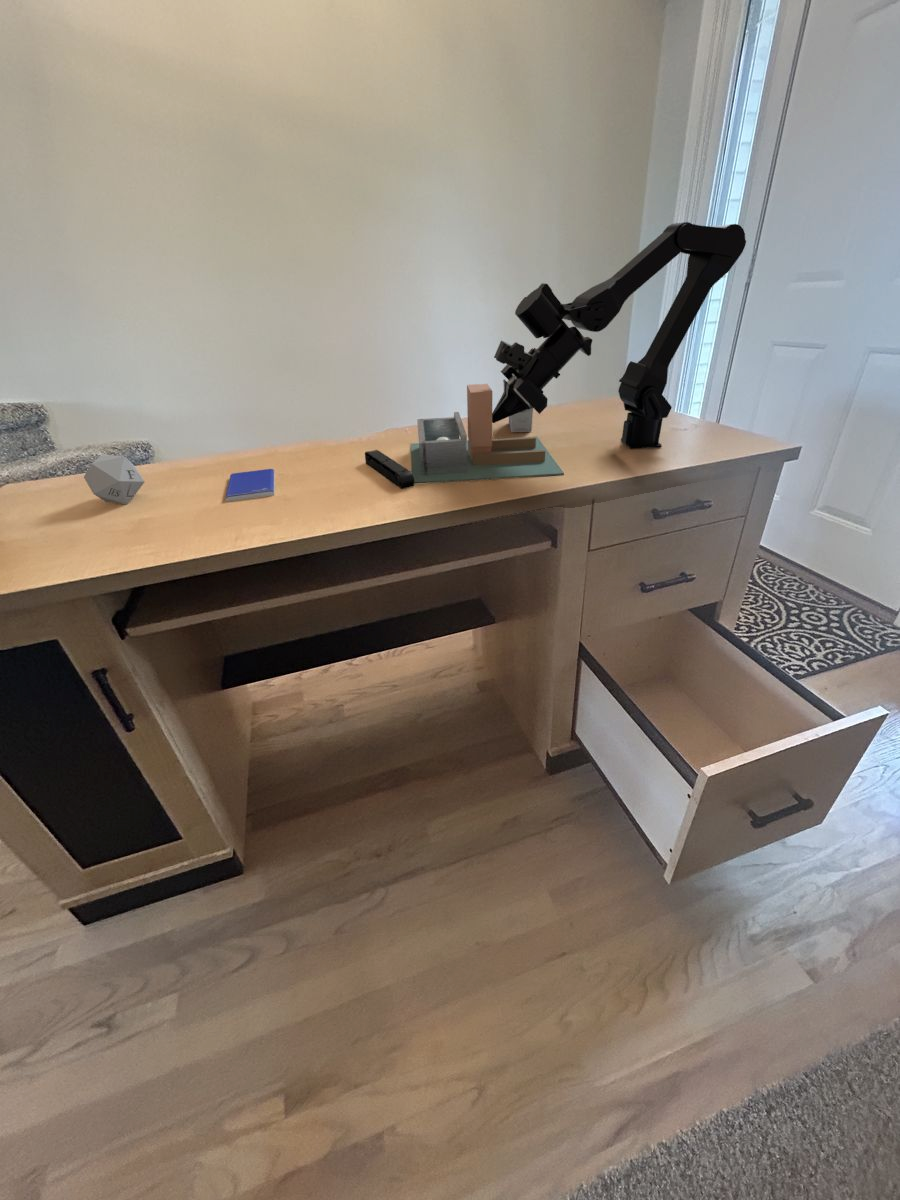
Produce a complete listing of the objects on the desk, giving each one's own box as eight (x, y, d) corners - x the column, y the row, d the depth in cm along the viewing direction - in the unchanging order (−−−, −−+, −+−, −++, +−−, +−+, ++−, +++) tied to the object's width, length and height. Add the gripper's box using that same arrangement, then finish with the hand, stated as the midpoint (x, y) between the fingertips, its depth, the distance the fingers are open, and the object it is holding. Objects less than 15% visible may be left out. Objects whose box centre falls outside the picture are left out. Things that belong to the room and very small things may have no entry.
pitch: (536, 437, 117) (537, 427, 116) (563, 474, 97) (564, 462, 96) (410, 445, 116) (410, 434, 115) (411, 484, 96) (410, 471, 95)
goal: (459, 445, 114) (458, 411, 110) (467, 472, 99) (466, 435, 96) (419, 447, 113) (416, 414, 110) (421, 475, 99) (418, 437, 95)
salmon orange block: (487, 450, 110) (487, 383, 102) (492, 461, 104) (492, 391, 97) (468, 451, 109) (466, 384, 102) (471, 462, 104) (470, 392, 96)
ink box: (508, 423, 129) (509, 371, 122) (529, 422, 128) (531, 370, 122) (511, 433, 121) (512, 378, 115) (533, 432, 121) (535, 377, 115)
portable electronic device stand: (415, 488, 95) (414, 472, 93) (402, 491, 94) (400, 475, 92) (376, 462, 108) (375, 447, 107) (365, 464, 107) (363, 450, 106)
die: (99, 517, 90) (119, 470, 87) (66, 486, 92) (84, 439, 88) (141, 515, 98) (160, 472, 95) (110, 487, 99) (128, 443, 96)
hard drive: (273, 489, 94) (273, 467, 104) (224, 495, 92) (229, 473, 102) (275, 497, 94) (275, 475, 105) (227, 504, 93) (232, 481, 103)
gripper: (513, 318, 102) (457, 382, 107) (532, 328, 86) (466, 402, 92) (550, 360, 106) (495, 419, 112) (575, 378, 91) (510, 445, 96)
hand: (491, 421), depth 103 cm, fingers closed, pressing on salmon orange block
